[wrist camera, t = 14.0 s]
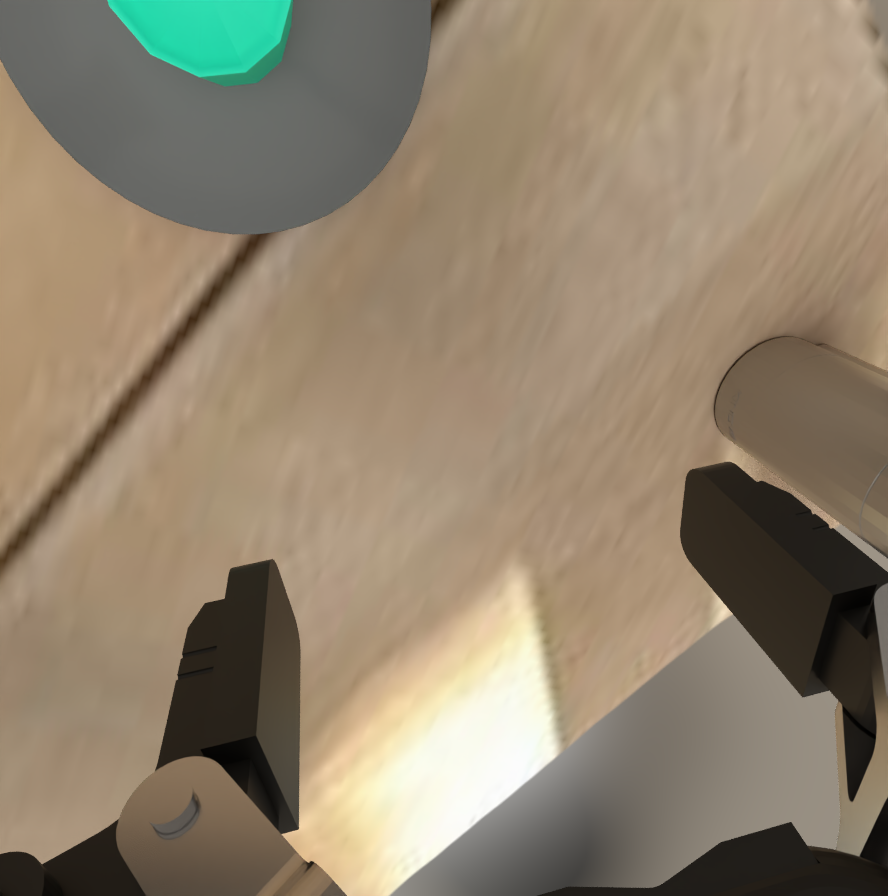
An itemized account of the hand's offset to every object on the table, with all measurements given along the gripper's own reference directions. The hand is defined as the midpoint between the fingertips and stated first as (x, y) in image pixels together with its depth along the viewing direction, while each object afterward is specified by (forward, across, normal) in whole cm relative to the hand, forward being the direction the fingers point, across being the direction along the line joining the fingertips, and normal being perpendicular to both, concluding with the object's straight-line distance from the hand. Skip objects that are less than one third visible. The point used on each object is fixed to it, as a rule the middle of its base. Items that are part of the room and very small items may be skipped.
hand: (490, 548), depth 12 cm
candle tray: (+28, +5, -12) cm, 31 cm away
